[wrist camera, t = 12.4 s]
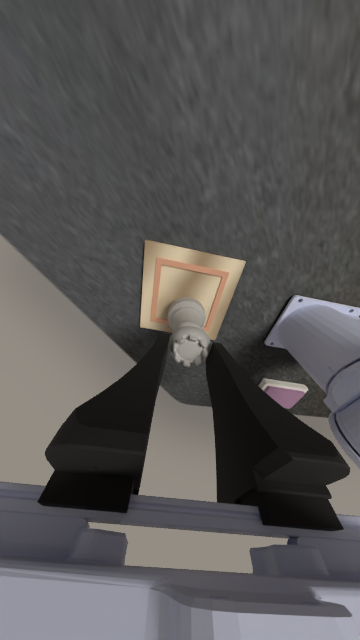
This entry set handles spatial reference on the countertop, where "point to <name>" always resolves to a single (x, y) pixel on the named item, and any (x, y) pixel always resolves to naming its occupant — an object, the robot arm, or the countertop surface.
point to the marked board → (186, 284)
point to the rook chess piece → (188, 332)
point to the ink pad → (283, 391)
